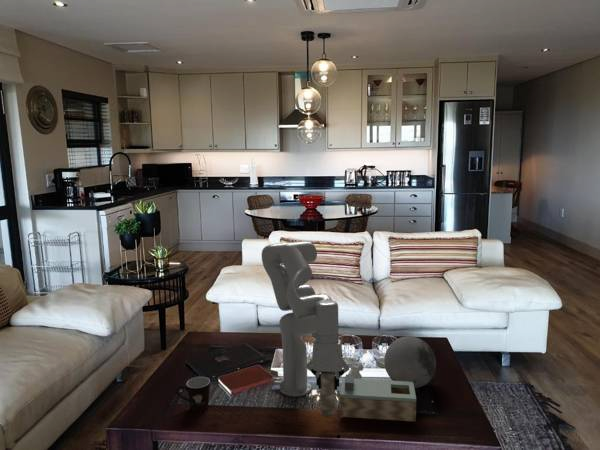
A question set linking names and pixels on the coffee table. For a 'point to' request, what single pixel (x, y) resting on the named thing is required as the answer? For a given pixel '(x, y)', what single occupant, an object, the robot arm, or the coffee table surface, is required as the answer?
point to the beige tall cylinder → (327, 393)
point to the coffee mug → (197, 392)
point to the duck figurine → (356, 370)
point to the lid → (375, 389)
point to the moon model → (410, 361)
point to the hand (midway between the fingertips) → (327, 387)
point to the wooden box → (379, 408)
